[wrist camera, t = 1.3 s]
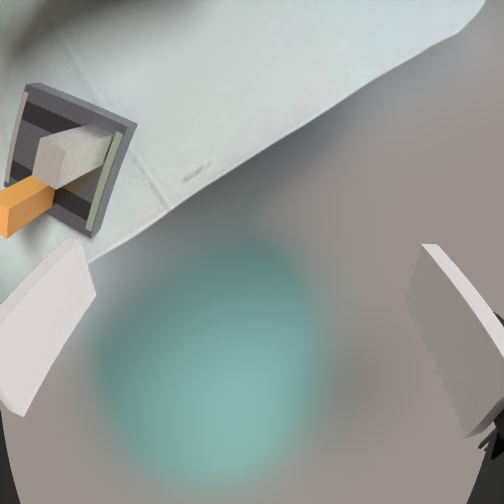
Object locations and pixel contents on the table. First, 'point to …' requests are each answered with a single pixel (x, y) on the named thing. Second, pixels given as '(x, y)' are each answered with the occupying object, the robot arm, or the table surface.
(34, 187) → the handle
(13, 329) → the robot arm
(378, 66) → the table surface
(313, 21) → the table surface
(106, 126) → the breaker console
